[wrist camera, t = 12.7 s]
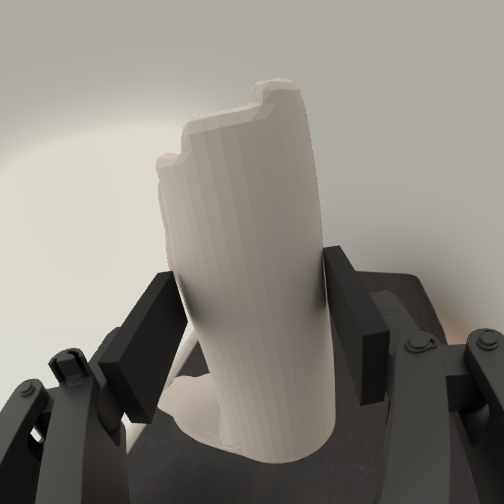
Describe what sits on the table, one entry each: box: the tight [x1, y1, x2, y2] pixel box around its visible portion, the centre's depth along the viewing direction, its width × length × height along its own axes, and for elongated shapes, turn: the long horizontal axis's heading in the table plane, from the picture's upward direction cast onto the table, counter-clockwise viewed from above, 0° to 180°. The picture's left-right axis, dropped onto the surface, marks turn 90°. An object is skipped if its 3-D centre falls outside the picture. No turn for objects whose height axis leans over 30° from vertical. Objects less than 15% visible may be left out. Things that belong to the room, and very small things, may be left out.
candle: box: [156, 78, 335, 463], centre depth 18 cm, size 7×14×20 cm, turn 64°
